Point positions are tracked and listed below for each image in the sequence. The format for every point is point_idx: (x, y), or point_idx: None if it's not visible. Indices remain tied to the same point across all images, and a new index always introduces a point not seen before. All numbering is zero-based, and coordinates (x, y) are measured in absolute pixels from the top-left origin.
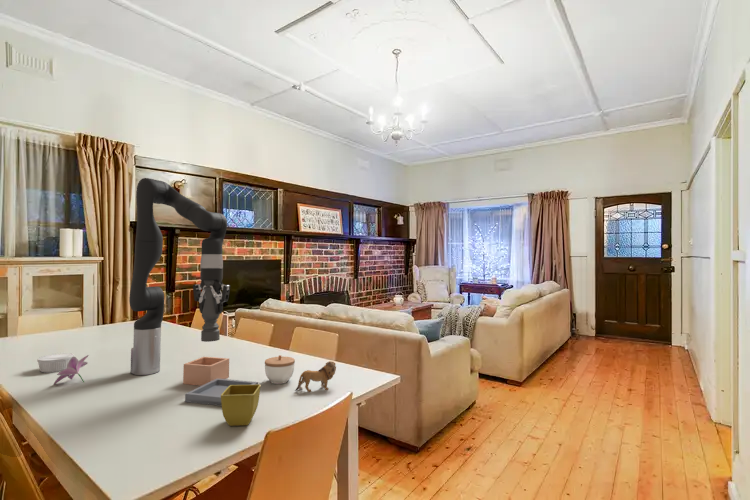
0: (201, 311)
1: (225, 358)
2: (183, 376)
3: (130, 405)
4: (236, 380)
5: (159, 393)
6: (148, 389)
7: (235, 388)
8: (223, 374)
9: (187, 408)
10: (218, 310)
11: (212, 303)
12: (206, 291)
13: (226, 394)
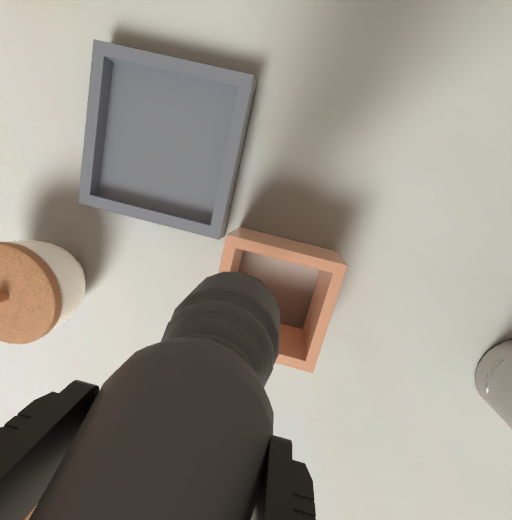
0: (277, 447)
1: None
2: (338, 255)
3: (414, 42)
4: (149, 218)
5: (371, 159)
6: (426, 196)
7: None
8: None
9: (224, 29)
10: (50, 406)
11: (53, 497)
12: None
13: None
